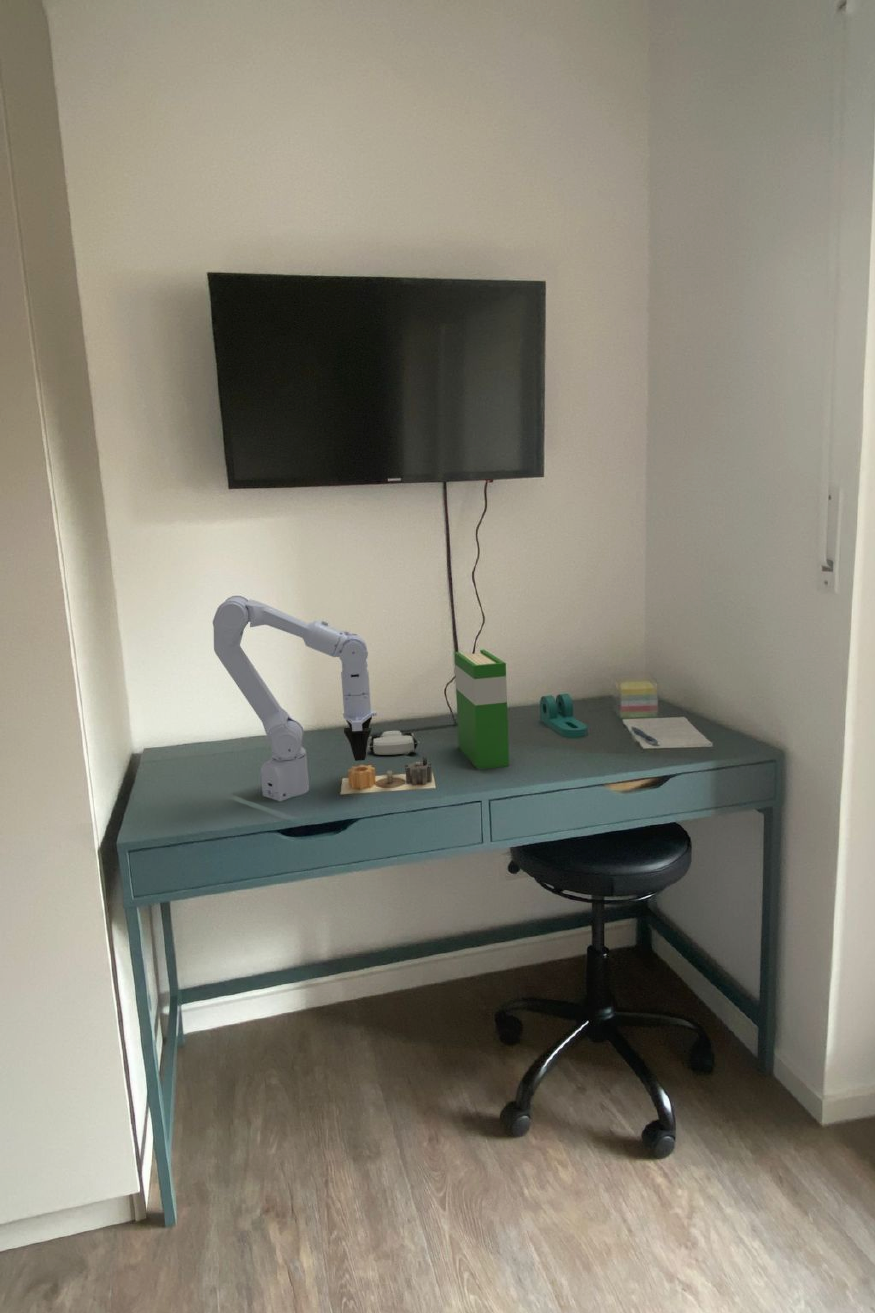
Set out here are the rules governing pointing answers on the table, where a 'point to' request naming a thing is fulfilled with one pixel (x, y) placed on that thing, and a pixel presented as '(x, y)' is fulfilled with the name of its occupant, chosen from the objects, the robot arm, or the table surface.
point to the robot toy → (393, 743)
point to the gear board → (398, 780)
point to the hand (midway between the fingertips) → (360, 754)
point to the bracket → (561, 716)
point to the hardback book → (482, 709)
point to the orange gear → (361, 776)
